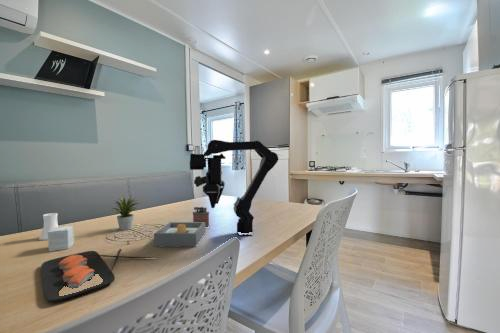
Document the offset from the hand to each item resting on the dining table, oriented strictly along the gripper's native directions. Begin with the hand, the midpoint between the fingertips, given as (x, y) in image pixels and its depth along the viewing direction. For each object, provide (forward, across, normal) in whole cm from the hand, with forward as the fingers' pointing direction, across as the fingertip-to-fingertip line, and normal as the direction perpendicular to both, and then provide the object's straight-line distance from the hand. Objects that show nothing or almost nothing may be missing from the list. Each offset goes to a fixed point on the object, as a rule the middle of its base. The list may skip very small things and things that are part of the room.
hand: (214, 205), depth 100 cm
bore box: (+13, +5, -13) cm, 19 cm away
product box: (+13, +14, -56) cm, 59 cm away
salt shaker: (+13, +3, -70) cm, 71 cm away
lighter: (+13, -12, -9) cm, 20 cm away
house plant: (+13, -8, -44) cm, 47 cm away
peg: (+13, +5, -13) cm, 19 cm away
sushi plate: (+14, +29, -29) cm, 43 cm away
